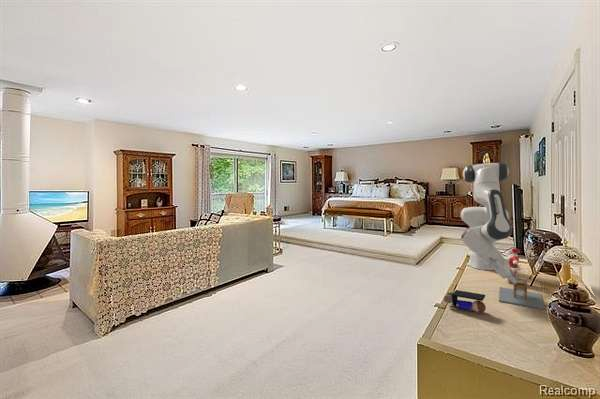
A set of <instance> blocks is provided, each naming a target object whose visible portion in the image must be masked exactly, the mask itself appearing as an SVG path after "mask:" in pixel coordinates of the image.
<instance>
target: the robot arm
mask: <svg viewBox="0 0 600 399" xmlns="http://www.w3.org/2000/svg"><path fill="white" fill-rule="evenodd" d="M508 167H509V166H508V165H507V164H506V163H505V162H485V163H477V164H469V165H466V166H465V167H464V168H463V171H462V177H463V179H464V182H466V183H468V184H469V183H470V184H472V183H473V184H472V185H473V187H472V188H473V190H472V191H473V200H474V201H475V202H476V203H477V204H480V205H482V206H469V207H464V208H463V209H461V211H460V218H461V221H462V222H464V223H466V224H467V225H468V228H466V229H465V230H464V232H462V234H461V236H460V238H461V241H462V242H463V244H464V245H465V246H466V247H467V248H468V249H469V250H470V251H471V252H470V253H469V262H466V266H468V267H471V268H474V269H476V270H483V271H495V272H496V273H497V274H498V275H499V276H500V277H501V278H502V279H507V280H508V279H509V280H510V281H512V282H513V283H514V284H515V283H517V280H516V279H515V278H514V277H516V276H517V277H518V275H517V274H515V273H514V272H513V271H512V269H511V268H510V264H509V263H508V259H506V258H505V257H504V256H503V255H502V254H503V253H502V252H501V251H500V250H499V249H497V247H496V246H495V243H496V242H499V241H501V240H505V239H507V238H509V237H510V236H511V235H512V233H513V226H512V223H511V222H510V221H509V219H510V213H509V211H508V210H507V209H506V205H505V200H504V197H503V194H502V192H501V188H500V187H501V186H500V182H502V181H505V180H506V179H507V178H508V176H509V172H510V169H509V168H508ZM509 280H508V281H509ZM514 284H513V285H514Z"/></svg>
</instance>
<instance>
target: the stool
mask: <svg viewBox="0 0 600 399" xmlns="http://www.w3.org/2000/svg"><path fill="white" fill-rule="evenodd" d="M514 278H515V279H516V280H517V283H515V284H513V289H514V298H517V290H520V291H524V299H526V300H527V291H528V284H529V283H528V279H527V278H524V277H520V276H519V277H518V276H517V277H514Z"/></svg>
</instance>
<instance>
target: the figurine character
mask: <svg viewBox="0 0 600 399" xmlns="http://www.w3.org/2000/svg"><path fill="white" fill-rule="evenodd" d="M458 297H459V298H463V299H469V300H462V299H461V300H460V299H458ZM485 297H486V294H483V293H476V292H471V291H465V290H458V289H455V291H454V292H453V291H449V292H447V293H446V295H444V297H443V301H444V302H446V303H447V304H451V305H449V308H456V309H457V308H460V309H467V310H473V311H474V312H475V313H478V314H482V313H484V312H485V311H486V304H485V303H484V302H483V301H484V299H485ZM470 300H473V301H470Z"/></svg>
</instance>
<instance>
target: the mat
mask: <svg viewBox="0 0 600 399" xmlns="http://www.w3.org/2000/svg"><path fill="white" fill-rule="evenodd" d="M498 294H499V295H498V302H499V303H506V304H510V305H515V306H522V307H527V308H532V309H537V310H544V311H546V308H545V305H544V304H545V303H544V301H543V298H542V295H541V293H540V292H535V291H534V292H533V291H528V290H527V300H526V299H524V291H520V290H517V298H514V288H507V287H503V286H499V293H498Z"/></svg>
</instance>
